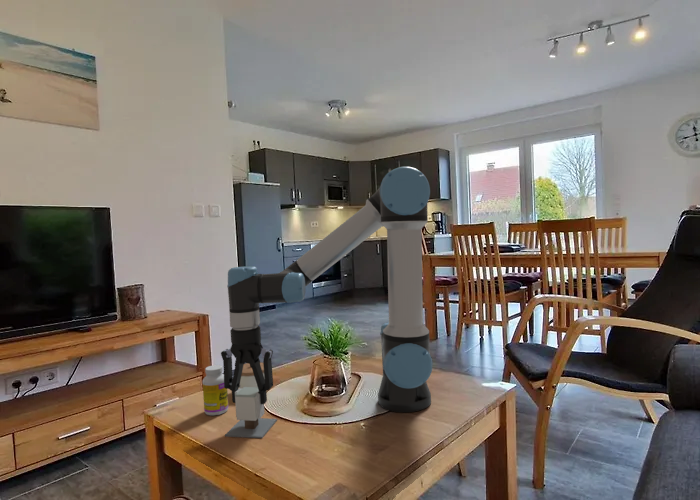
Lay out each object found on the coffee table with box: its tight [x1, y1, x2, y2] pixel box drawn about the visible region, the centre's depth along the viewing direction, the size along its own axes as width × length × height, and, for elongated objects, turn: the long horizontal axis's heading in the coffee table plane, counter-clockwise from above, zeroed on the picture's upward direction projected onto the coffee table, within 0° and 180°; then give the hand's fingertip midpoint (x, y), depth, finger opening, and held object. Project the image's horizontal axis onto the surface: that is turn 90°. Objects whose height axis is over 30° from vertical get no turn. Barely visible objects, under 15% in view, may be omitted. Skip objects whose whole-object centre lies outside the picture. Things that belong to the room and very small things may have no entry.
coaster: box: [224, 417, 278, 439], centre depth 112 cm, size 10×10×1 cm
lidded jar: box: [238, 361, 265, 389], centre depth 139 cm, size 11×11×9 cm
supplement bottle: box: [202, 364, 229, 416], centre depth 124 cm, size 7×7×13 cm
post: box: [245, 419, 259, 429], centre depth 112 cm, size 3×3×7 cm
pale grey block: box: [235, 387, 259, 421], centre depth 112 cm, size 5×5×7 cm
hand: (250, 415), depth 112 cm, fingers closed on pale grey block, 5 cm apart
